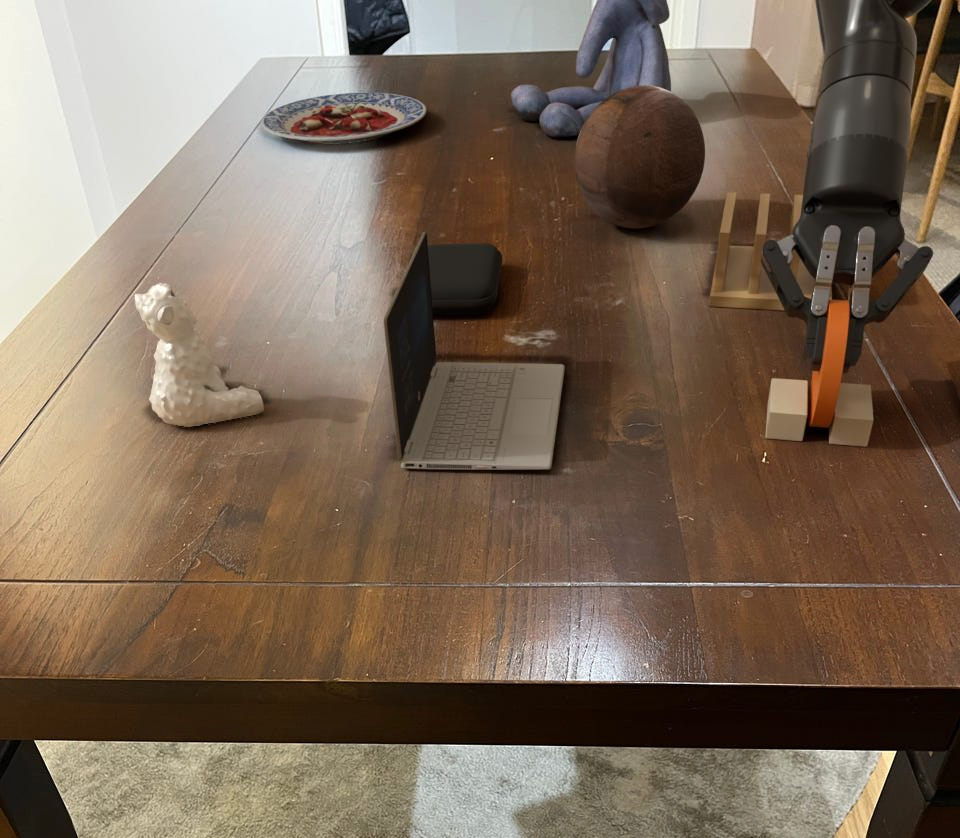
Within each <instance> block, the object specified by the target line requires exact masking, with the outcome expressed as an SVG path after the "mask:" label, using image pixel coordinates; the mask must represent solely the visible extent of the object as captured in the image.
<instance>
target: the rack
mask: <svg viewBox="0 0 960 838" xmlns="http://www.w3.org/2000/svg"><path fill="white" fill-rule="evenodd" d="M759 195H760V196H759V203H758V210H757V220H756V225H755V231H754V232H755V234H754V240H753V246H747V245H731V242H732V235H733V227H734V220H735V219H734V218H735V212H736V203H737V192H730V191H729V192H726V197H725V203H724V208H723V213H722V218H721V224H720V229H719V234H718V244H717V253H716V261H715V265H714V271H713V276H712V282H711V288H710V291H709V292H710V293H709V299H708V307H714V308H729V309H730V308H731V309H750V310H764V311H765V310H767V311H781V312H782V311H783V312H784V311H785V310H784V308H783V306H782V304H781V302H780V300H779V298H778V296H777V294H776V292H775V290H774V288H773V286H772V284H771V282H770V280H769V278H768V276H767V274H766V272H765V270H764V268H763V266H762V264H761V256H762V250H763V245H764V243H765V242H766V241H767V232H768V224H769V223H768V222H769V211H770V201H771V193H760V194H759ZM793 196H794V197H793V203H792V207H791V209H792V210H791V215H790V222H789V228H788V234H787V235H788V236H790V235H792V231H793V228H794V226H795V224H796V223H797V222H798V220H799V218H800V215H801V208H802V200H803V194H794V195H793ZM788 236H787V237H788ZM792 255H793V258H792V262H791V265H790V269H791V271H792V273H793V275H794V277H795V279H796V281H797V283H798V285H799V287H800V289H801V291H802V293H803V295H804V296H805V297H807V298H810V299H811V295H812V290H813V284H814V278H813V277H812V276H811V275H810V273H809V272H808V270H807V268H806V267H805V265H804V264H803V262H802V260H801V259H800V257H799V256H798V254H797V252H796V251H795V250H793V251H792ZM832 286H833V284H831V289H830V294H829V299H830V300H833V289H832Z"/></svg>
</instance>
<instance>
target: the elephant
mask: <svg viewBox="0 0 960 838" xmlns="http://www.w3.org/2000/svg"><path fill="white" fill-rule="evenodd" d="M669 19H670V8H669V4H668V0H596V3H595V5H594V6H593V9H592V12H591V15H590V17H589V21H588V22H587V25H586V28H585V31H584V34H583V37H582V40H581V42H580V45H579V47H578V50H577V54H576V58H575V59H576V60H575V74H576V76H577V77H579V78H583V79H586V78H589V77H590V76H591V75H592V73H593V72H594V70H595V68H596V65H597V63H598V60H599V58H600V55H601V54H602V51H603V49H604V47H605V46H606V44H607V43H608V42H609V41H610V40H611V43H610V45H609V46H610V47H609V50H608V54H607V57H606V60H605V62H604V66H603V67H602V69H601V72H600V75H599V76H598V78H597V80H596V82H595V84H594V85H593V87H590V86H585V85H575V86H565V87H564V86H563V87H558V88H555V89H552V90H549V91H543V90H542V89H540V88H539V87H538V86H536V85H534V84H519V85H518V86H517V87H515V88H513V90H512V91H511V93H510V99H511V106H512V109H513V110H514V113H516V114H517V116H518V117H519V118H520V119H521V120H523V121H525V122H533V123H535V122H539V126H540V128H541V130H542V132H543V134H544V135H546V136H547V137H549V138H555V139H558V138H559V139H560V138H574V137H579V134H580V132H581V129H582V127H583V125H584V123H585V121H586V120H587V118H588V117H589V115H590V114H591V113H592V111H593V110H594V109H595V108H596V107H597V106H598V105H599V104H600V103H601V102H602V101H603V100H605V99H606V98H607V97H609V96H610V95H612V94H614V93H616V92H618V91H620V90H622V89H625V88H628V87H633V86H641V85H648V86H656V87H660V88H663V89H666V90H668V91H670V92H672V78H671V72H670V62H669V55H668V51H667V47H666V44H665V39H664V35H663V31H662V28H661V24H664V23H665V22H667V21H668V20H669Z"/></svg>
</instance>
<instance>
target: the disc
mask: <svg viewBox="0 0 960 838" xmlns="http://www.w3.org/2000/svg"><path fill="white" fill-rule="evenodd" d="M825 318H828V319H827V327H826V335H825V343H824V351H823V359H822V365H821V368H820V370H819V371H812V375H811V382H810V390H809V398H808V399H809V400H808V412H807V421H808V422H807V423H808V427H810V428H811V427H813V428H814V427H815V428H825V429H829V426H830V424H831V421H832V418H833V415H834V411H835V407H836V403H837V399H838V394H839V389H840V384H841V383H842V378H843V374H844V373H843V366H844V360H845V353H846V346H847V337H848V327H849V301H848V299H832V300H830V299H829V300H828V306H827V310H826V317H825Z"/></svg>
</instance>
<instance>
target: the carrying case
mask: <svg viewBox="0 0 960 838" xmlns="http://www.w3.org/2000/svg"><path fill="white" fill-rule="evenodd" d="M428 256H429V269H430V282H431V295H432V308H433V316H441V315H442V316H445V315H446V316H447V315H448V316H449V315H450V316H451V315H453V316H454V315H455V316H456V315H482V314H486V313H488V312H489V311H490V310H491V309H492V307H493V306H494V305H496V302H497V300H498V295H499V287H500V281H501V272H502V266H503V254H502V251H500V250H499V249H498V247H497V246H495V245H494V244H492V243H487V242H485V243H483V242H482V243H479V242H478V243H476V242H475V243H437V244H436V243H433V244H428Z"/></svg>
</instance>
